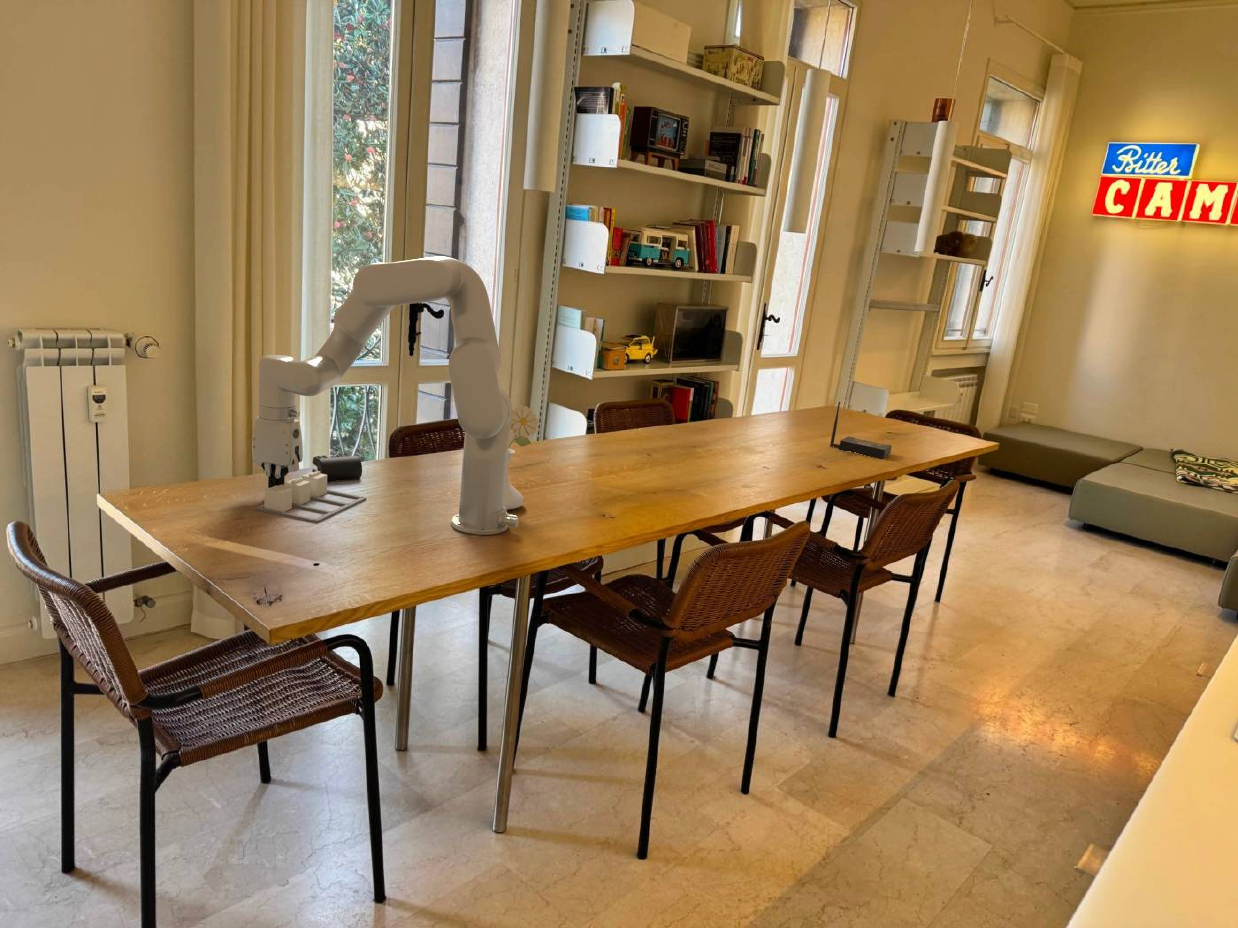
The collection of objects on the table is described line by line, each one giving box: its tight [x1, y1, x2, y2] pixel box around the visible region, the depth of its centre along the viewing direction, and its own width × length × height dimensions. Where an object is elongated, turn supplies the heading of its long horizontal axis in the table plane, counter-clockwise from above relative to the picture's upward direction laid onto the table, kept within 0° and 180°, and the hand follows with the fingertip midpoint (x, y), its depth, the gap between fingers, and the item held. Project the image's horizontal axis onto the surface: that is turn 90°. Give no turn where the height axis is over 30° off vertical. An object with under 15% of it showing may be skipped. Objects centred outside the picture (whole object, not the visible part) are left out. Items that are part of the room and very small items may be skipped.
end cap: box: [311, 453, 363, 483], centre depth 211 cm, size 10×7×7 cm
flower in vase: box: [503, 404, 539, 511], centre depth 206 cm, size 13×11×25 cm
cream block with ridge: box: [284, 477, 311, 505], centre depth 192 cm, size 4×4×5 cm
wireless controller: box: [829, 401, 892, 460], centre depth 313 cm, size 20×14×17 cm
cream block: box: [263, 485, 293, 513], centre depth 186 cm, size 4×4×5 cm
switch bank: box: [254, 489, 367, 524], centre depth 192 cm, size 20×19×2 cm
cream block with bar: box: [301, 471, 328, 497], centre depth 198 cm, size 4×4×5 cm
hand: (276, 493), depth 193 cm, fingers closed
